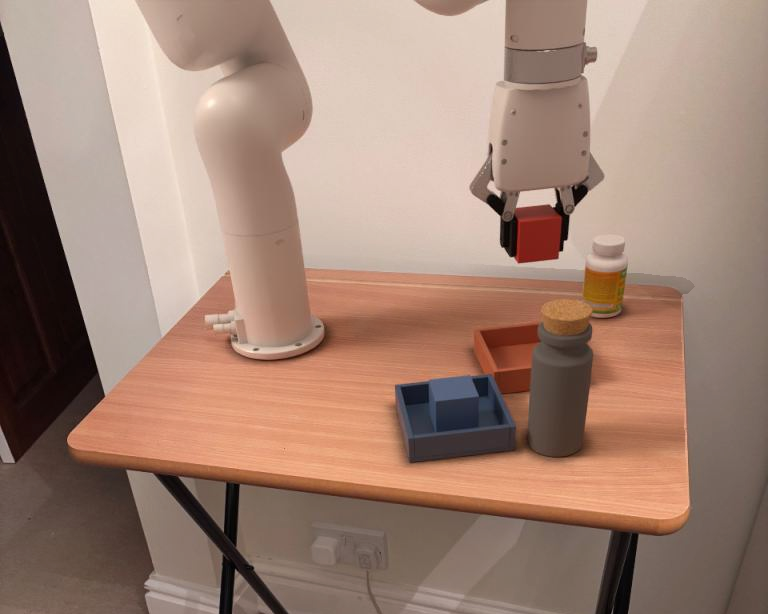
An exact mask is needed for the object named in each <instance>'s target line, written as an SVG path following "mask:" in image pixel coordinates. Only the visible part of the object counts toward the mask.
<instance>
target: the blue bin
mask: <svg viewBox="0 0 768 614" xmlns="http://www.w3.org/2000/svg"><path fill="white" fill-rule="evenodd" d="M470 376H471V378H472V381H473V383H474V385H475V388H476V390H477V393H478V395H479V428H471V429H462V430H453V431H445V432H436V433H435V432H434V428H433V425H432V422H431V419H430V412H429V380H425V381H417V382H416V381H415V382H407V383H398V384H394V397H395V398H394V399H395V409H396V413H397V418H398V421H399V426H400V429H401V434H402V438H403V443H404V446H405V450H406V455H407V458H408V462H409V463H417V462H426V461H435V460H442V459H449V458H451V459H452V458H460V457H467V456H479V455H485V454H494V453H502V452H510V451H515V450H516V436H517V435H516V434H517V425H516V423H515V421H514V418H513V416H512V414H511V412H510V410H509V408H508V406H507V404H506V401H505V399H504V397H503V395H502V394H501V393H500V390H499V388H498V386H497V384H496V382H495V380H494V377H493V375H492V374H487V375H485V374H478V375H470Z"/></svg>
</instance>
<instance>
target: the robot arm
mask: <svg viewBox="0 0 768 614" xmlns="http://www.w3.org/2000/svg"><path fill="white" fill-rule="evenodd" d="M134 1H135V3H136V5H137V7H138V9H139V11H140V12H141V15H142V16H143V18H144V20H145V22H146V24H147V26H148V28H149V29H150V31H151V33H152V35H153V37H154V39H155V41H156V43H157V44H158V46H159V48H160V49H161V51H162V52H163V53H164V55H165V56H166V57H167V59H168V60H169V61H170V63H172V64H173V65H175V66H176V67H177V68H178V69H181V70H184V71H186V72H187V71H188V72H201V71H206V70H209V69H212V68H214V67H216V66H219V68H220V70H221V72H222V73H223V75H224V77H222V78H220V79H218V80H217V81H215V82H213V83H212V84H211V85H210V86H208V88H207V89H206V90H205V91H204V92H203V94H202V95H201V96H200V97H199V100H198V102H197V104H196V107H195V111H194V114H193V134H194V138H195V143H196V146H197V149H198V152H199V154H200V157H201V160H202V163H203V165H204V168H205V170H206V173H207V177H208V179H209V183H210V186H211V189H212V194H213V198H214V201H215V206H216V211H217V216H218V220H219V226H220V230H221V233H222V238H223V244H224V250H225V255H226V260H227V265H228V270H229V275H230V280H231V281H230V282H231V285H232V291H233V296H234V301H235V306H234V309H230V310H228V312H227V313H214V314H212V313H211V314H206V315H205V314H204V322H205V327H206V330H207V331H210V330H213V334H214V336H220V335H225V334H230V342H231V347H232V349H233V350H234V351H235V352H236V353H237V354H239V355H241V356H242V357H243V356H244V357H247V358H249V359H254V360H263V361H265V360H266V361H270V360H271V361H274V360H282V359H283V360H284V359H289V358H293V357H296V356H300V355H302V354H304V353H307V352H309V351H311V350H312V349H314V348H316V347H317V346H318V345H319V344H320V343H321V342H322V341H323V339H324V337H325V326H324V323H323V321H322V320H321V319H320V318H318V317H317V316H315V315H312V314H311V305H310V298H309V297H310V296H309V291H308V283H307V275H306V268H305V260H304V251H303V245H302V244H303V243H302V238H301V229H300V228H301V227H300V221H299V216H298V209H297V202H296V195H295V191H294V187H293V185H292V182H291V179H290V177H289V173H288V171H287V169H286V165H285V163H284V160H283V159H284V158H283V154H282V153H284V151H285V150H287V149H288V148H290V147H291V146H293V145H294V144H295V143H296V142H298V141H299V140H300V139H301V138H302V137H303V136H304V135H305V134H306V133H307V131H308V130H309V127H310V124H311V121H312V118H313V111H314V110H313V108H314V107H313V98H312V94H311V89H310V86H309V83H308V81H307V78H306V76H305V74H304V71H303V68H302V67H301V64H300V63H299V60H298V58H297V56H296V53H295V51H294V49H293V47H292V45H291V43H290V40H289V38H288V36H287V34H286V32H285V30H284V28H283V26H282V23H281V21H280V19H279V16H278V15H277V13H276V11H275V10H276V9H275V8H274V6H273V4H272V2H271V0H134ZM413 1H414V2H415V3H416V4H418V5H419V6H420V7H422V8H424V9H425V10H427V11H429V12H432V13H433V14H435V15H439V16H444V17H455V16H460V15H462V14H464V13H466V12H469V11H470V10H472V9H474V8H476V7H477V6H479V5H481V4H485V3H486V2H488V1H489V0H413ZM587 8H588V0H505V16H504V17H505V18H504V49H503V50H504V51H503V53H504V54H503V80H500V81H497V82H495V84H494V88H493V93H492V97H491V98H492V99H491V105H490V111H489V119H488V129H487V142H486V153H485V157H486V158H485V161H484V163H483V165H482V166H481V168H480V169H479V171H478V172H477V174H475V176H474V178H473V179H472V181H471V182H470V184H469V186H468V189H469V191H470V193H471V194H472V195H473V196H474V197H476V198H477V199H479V200H480V201H481V202H483V203H485V204H486V205H488V206H489V207H490V208H491V209H492V211H494V212H495V213H496V214H497V215H498V216H499V219H500V221H499V245H500V247H501V248H502V249H504V250H505V252H506V254H507V255H508V257H509V258H514V257H515V256H516V253H517V228H518V223H517V220H516V219H515V209H516V208H517V205H518V201H519V198H520V194H521V192H530V191H539V190H549V189H553V191H554V196H555V201H556V203H555V204H554V206H552V207H553V209H554V210H555V211H556V212H557V213H558V214H559V215H560V216H561V217H562V221H561V234H560V247H559V253H562V252H564V245H565V242H566V241H568V240H569V231H570V220H571V219H570V218H571V215H572V214H573V213H574V212H575V209H576V207H577V206H578V205H579V204H580V203H581V202H582V201H583V199H584V198H585V197H587V195H588V193H589V192H590V191H592V190H593V189H595V187H597V186H599V184H600V183H601V182H603V181H604V179H605V173H604V172H603V170H602V168H601V167H600V165H599V163H598V162H597V161H596V159H595V157H594V156H593V154H592V153H591V108H590V107H591V106H590V105H591V104H590V91H589V84H588V82H589V81H588V78H587V77H586V76H584V75H583V74H584V72H585V68H586V66H588V65H589V64H591V63H592V64H593V63H596V62H597V60H598V48H597V46H589V45H587V42H585V35H586V23H587V22H586V21H587ZM490 182H493V183H494V188H495V189H496V190H497V191H500V193H499V196H498V194H496V193H495V192H494V191H492V190H491V189H489V188H488V185H489V184H490Z"/></svg>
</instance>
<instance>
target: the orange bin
mask: <svg viewBox="0 0 768 614" xmlns="http://www.w3.org/2000/svg"><path fill="white" fill-rule="evenodd" d="M541 322H542V321H537V322H527V323H519V324H510V325H500V326H490V327H482V328H474V329H473V352H474V354H475V356H476V359H477V361H478V363H479V365H480V367H481V370H482V372H483V375H487V374H492V375H493V377H494V380H495V382H496V384H497V386H498V388H499V390H500V393H501V395H502V394H513V393H521V392H528V391H529V392H530V381H531V367H532V355H533V349H534V348H535V346H536V345H537V344H539V343H540V342H542V341H541V340H540V339H539V337H538V326H539V324H540V323H541Z"/></svg>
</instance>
